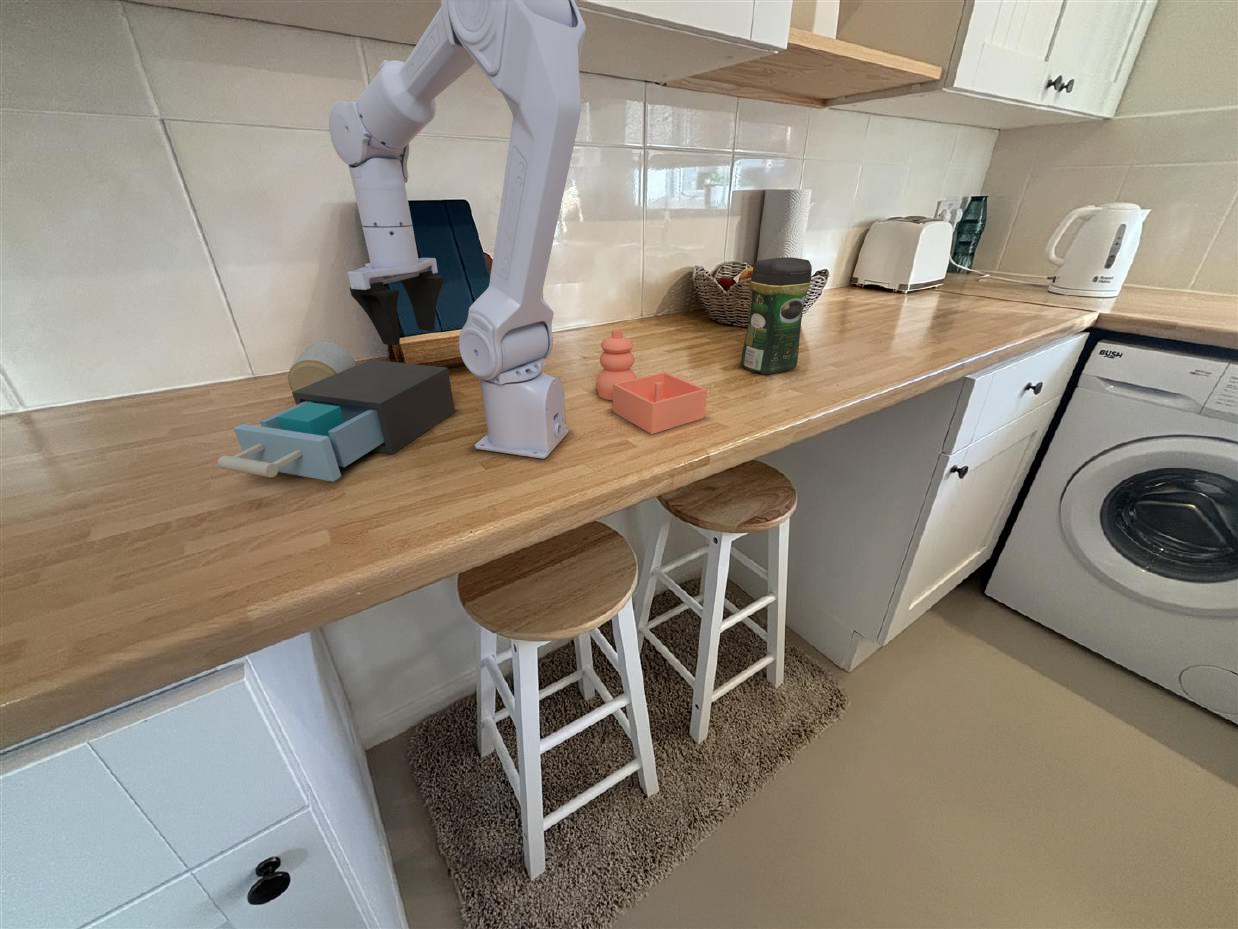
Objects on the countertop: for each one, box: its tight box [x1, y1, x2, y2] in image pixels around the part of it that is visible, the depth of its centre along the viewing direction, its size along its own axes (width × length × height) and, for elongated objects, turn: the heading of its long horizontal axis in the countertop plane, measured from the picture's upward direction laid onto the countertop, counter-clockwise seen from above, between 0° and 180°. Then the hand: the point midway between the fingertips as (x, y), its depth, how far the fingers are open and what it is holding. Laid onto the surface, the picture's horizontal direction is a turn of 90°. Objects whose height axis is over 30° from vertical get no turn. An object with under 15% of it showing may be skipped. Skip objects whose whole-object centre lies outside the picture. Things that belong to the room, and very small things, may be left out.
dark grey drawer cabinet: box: [291, 359, 456, 455], centre depth 65 cm, size 14×13×7 cm
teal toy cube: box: [277, 402, 345, 451], centre depth 55 cm, size 4×4×4 cm
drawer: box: [217, 400, 384, 482], centre depth 55 cm, size 17×11×5 cm
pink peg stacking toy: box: [595, 329, 708, 435], centre depth 71 cm, size 18×10×10 cm, turn 35°
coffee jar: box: [740, 256, 813, 375], centre depth 85 cm, size 10×8×19 cm
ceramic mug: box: [287, 341, 357, 392], centre depth 74 cm, size 11×8×8 cm
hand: (410, 336), depth 67 cm, fingers open, 7 cm apart
